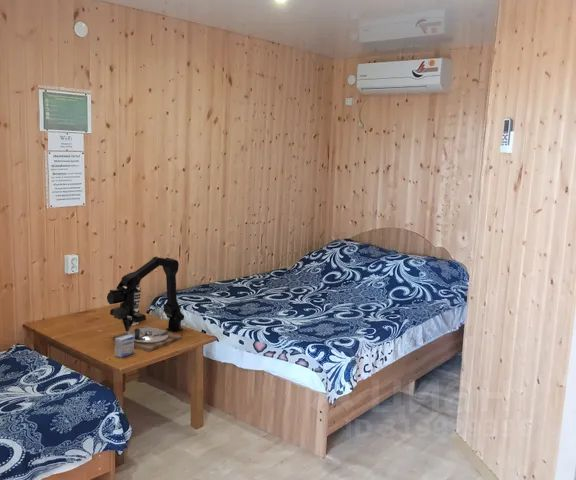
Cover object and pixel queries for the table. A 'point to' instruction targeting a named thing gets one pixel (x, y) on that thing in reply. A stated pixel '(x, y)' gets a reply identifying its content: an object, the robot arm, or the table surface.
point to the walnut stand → (153, 346)
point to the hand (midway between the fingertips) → (127, 331)
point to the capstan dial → (148, 335)
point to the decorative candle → (136, 300)
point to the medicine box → (124, 346)
